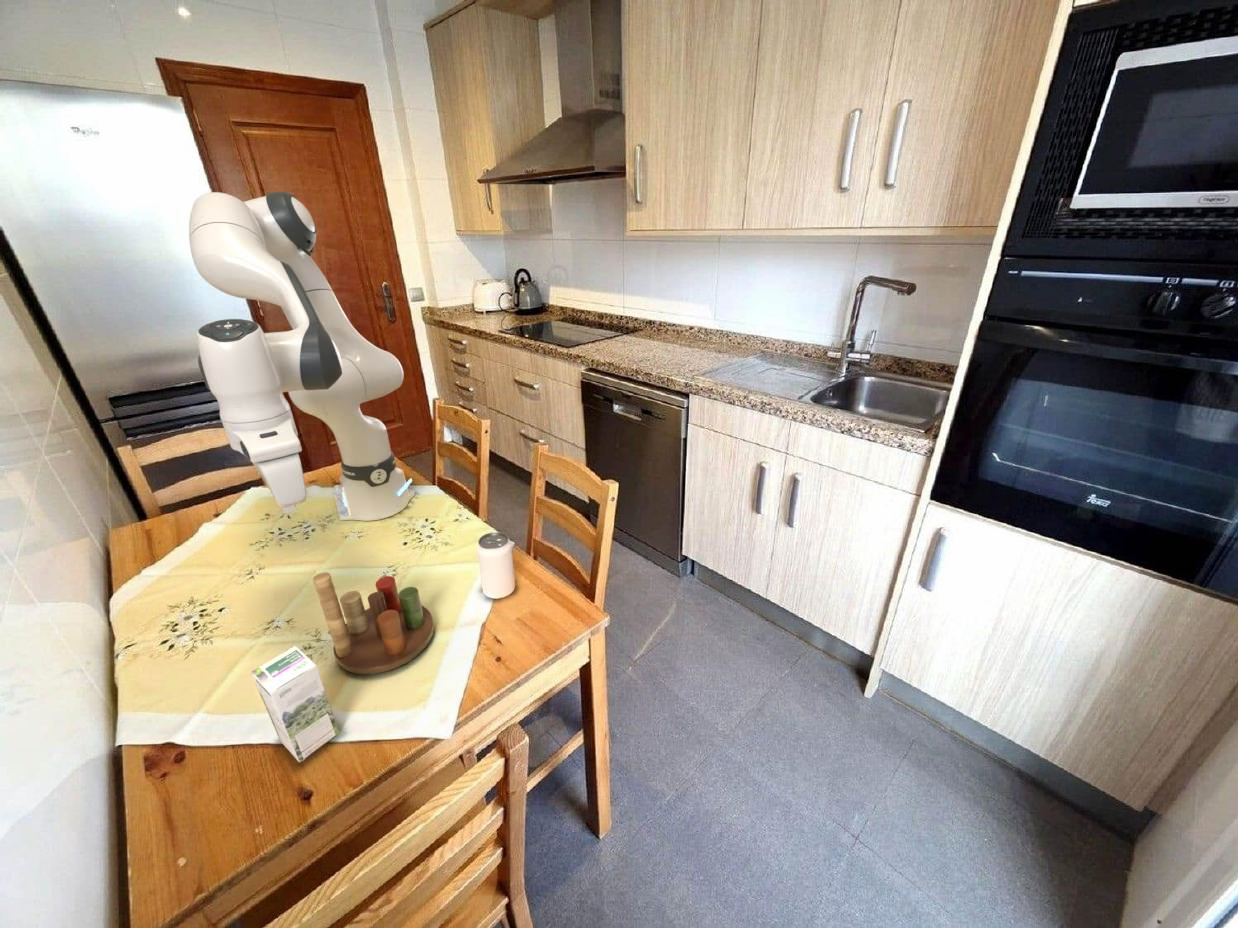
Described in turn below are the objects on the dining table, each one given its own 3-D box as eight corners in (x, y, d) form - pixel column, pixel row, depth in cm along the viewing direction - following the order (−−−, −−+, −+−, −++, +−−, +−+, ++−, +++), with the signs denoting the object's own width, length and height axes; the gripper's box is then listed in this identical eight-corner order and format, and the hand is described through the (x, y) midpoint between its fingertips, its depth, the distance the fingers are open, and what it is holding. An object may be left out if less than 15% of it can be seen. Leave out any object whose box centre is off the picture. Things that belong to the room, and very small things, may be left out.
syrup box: (320, 713, 76) (294, 642, 70) (341, 734, 73) (316, 662, 66) (280, 742, 72) (248, 669, 65) (300, 765, 69) (269, 692, 62)
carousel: (322, 634, 88) (296, 557, 81) (411, 593, 98) (396, 521, 91) (353, 691, 78) (326, 608, 71) (449, 639, 88) (435, 561, 81)
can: (507, 602, 98) (502, 552, 93) (477, 597, 99) (470, 547, 94) (520, 581, 104) (515, 532, 99) (491, 576, 105) (485, 528, 100)
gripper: (225, 417, 82) (251, 490, 88) (251, 457, 69) (280, 540, 75) (270, 408, 86) (292, 479, 92) (303, 444, 73) (326, 525, 79)
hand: (287, 507), depth 83 cm, fingers closed
